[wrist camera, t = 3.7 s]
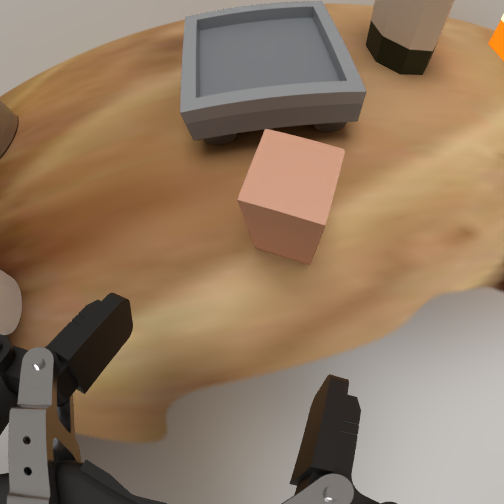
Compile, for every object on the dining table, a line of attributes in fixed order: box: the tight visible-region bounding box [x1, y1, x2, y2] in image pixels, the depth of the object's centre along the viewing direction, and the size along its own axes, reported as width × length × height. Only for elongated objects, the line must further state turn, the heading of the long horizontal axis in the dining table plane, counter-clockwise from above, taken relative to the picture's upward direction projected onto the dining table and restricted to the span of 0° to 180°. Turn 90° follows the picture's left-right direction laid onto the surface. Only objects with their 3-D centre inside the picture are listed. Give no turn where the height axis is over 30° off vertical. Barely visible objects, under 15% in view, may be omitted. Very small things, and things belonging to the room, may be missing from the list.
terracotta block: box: [237, 129, 345, 265], centre depth 21 cm, size 5×5×10 cm
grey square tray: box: [180, 1, 366, 145], centre depth 26 cm, size 14×14×7 cm
